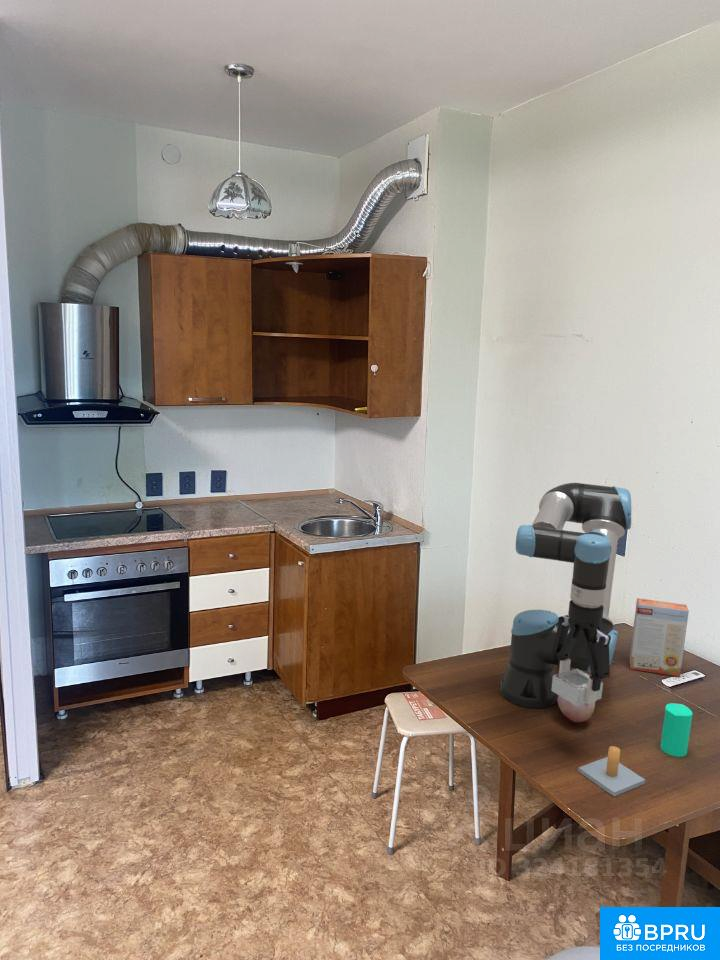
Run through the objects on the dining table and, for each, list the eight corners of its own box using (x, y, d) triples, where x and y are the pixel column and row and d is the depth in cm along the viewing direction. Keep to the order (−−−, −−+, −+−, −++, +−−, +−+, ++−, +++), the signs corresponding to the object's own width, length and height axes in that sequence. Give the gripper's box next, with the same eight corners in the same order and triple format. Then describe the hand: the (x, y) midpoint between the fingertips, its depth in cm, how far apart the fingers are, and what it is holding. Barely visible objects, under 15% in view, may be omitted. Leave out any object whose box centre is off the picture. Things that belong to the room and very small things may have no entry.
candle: (664, 739, 175) (670, 694, 173) (690, 749, 171) (696, 703, 169) (656, 749, 170) (663, 703, 168) (683, 759, 167) (689, 712, 164)
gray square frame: (551, 690, 169) (553, 675, 168) (575, 683, 173) (577, 668, 172) (576, 706, 162) (578, 690, 161) (601, 698, 166) (603, 682, 165)
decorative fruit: (600, 726, 180) (604, 689, 178) (578, 734, 176) (582, 697, 174) (571, 709, 188) (575, 674, 186) (549, 716, 183) (553, 680, 182)
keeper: (578, 771, 160) (581, 743, 159) (608, 760, 165) (612, 732, 164) (613, 796, 152) (617, 767, 150) (644, 783, 157) (648, 755, 155)
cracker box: (678, 669, 214) (687, 603, 210) (680, 678, 209) (689, 610, 205) (628, 661, 218) (636, 596, 214) (629, 669, 213) (637, 603, 209)
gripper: (542, 589, 170) (533, 677, 174) (611, 621, 152) (600, 718, 157) (564, 585, 174) (555, 671, 178) (635, 615, 156) (623, 710, 161)
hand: (576, 693), depth 168 cm, fingers closed on gray square frame, 8 cm apart
